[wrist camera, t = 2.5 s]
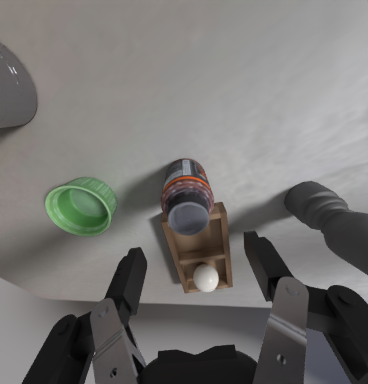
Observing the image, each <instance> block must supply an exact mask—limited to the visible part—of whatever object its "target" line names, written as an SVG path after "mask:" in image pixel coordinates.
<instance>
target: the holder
mask: <svg viewBox="0 0 368 384" xmlns="http://www.w3.org/2000/svg"><path fill="white" fill-rule="evenodd" d="M161 224H162V227H163V230H164V233H165V236H166V239H167V242H168V245H169V248H170V251H171V254H172V257H173V260H174V263H175V266H176V269H177V272H178V275H179V278H180V281H181V284H182V286H183V289H184V292H185V293H191V292H198V291H200V290H199V289H198V288H197V287H196V286H195V284H194V280H193V274H194V271H195V269H196V268H197V267H198V266H199V265H201V264H209V265H211V266H213V267H214V268H215V269H216V271H217V273H218V277H219V281H218V285H217V287H216V288H215V289H221V288H229V287H233V283H232V271H231V259H230V247H229V235H228V223H227V212H226V209H225V207H224V205H223V203H222V202H218V203H214V207H213V210H212V212H211V214H210V216H209V223H208V225H207V227H206V228H205V229H204V230H203V231H202V232H200V233H198V234H195V235H190V236H185V235H180V234H178V233H176V232H174V231H173V230H172V229H171V228H170V226H169V224H168V219H167V218H166V216H165V215H164V213H163V215H162V221H161Z"/></svg>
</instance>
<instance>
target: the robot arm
mask: <svg viewBox="0 0 368 384" xmlns="http://www.w3.org/2000/svg"><path fill="white" fill-rule="evenodd" d="M36 108H37V95H36V91H35V87H34V84H33V82H32V80H31V78H30V75H29V74H28V72H27V71H26V69H25V67H24V66H23V64H22V63H21V62H20V61H19V60H18V58H17V57H16V56H15V55H14V54H13V53H12V52H11V51H10V50H9V49H7V48H6V47H5V46H4V45H2V44H1V43H0V128H6V127H15V126H20V125H24V124H26V123H28V122H29V121H30V120H31V119H32V118H33V116H34V114H35V112H36ZM244 249H245V253H246V256H247V258H248V260H249V263H250V265H251V267H252V270H253V272H254V274H255V277H256V279H257V281H258V284H259V286H260V288H261V291H262V293H263V295H264V298H265V300H266V301H272V303H273V305H272V309H271V314H270V316H269V319H268V322H267V327H266V331H265V335H264V339H263V343H262V347H261V352H260V355H259V359H258V363H257V362H256V361H255V360H254V359H252V358H251V357H250V356H248V355H246V354H244V353H242V352H240V351H236V350H235V345H223V346H215V347H212V348H210V349H208V350H206V351H204V352H202V353H199V354H197V355H193V354H190V353H187V352H183V351H179V350H166V351H158V358H156V359H155V360H153V361H152V362H150V363H149V364H148V365H146V362H145V360H144V358H143V356H142V354H141V352H140V350H139V348H138V345H137V342H136V339H135V337H134V334H133V331H132V329H131V326H130V323H129V318H130V316H132V315H136V314H137V309H138V305H139V300H140V296H141V292H142V287H143V283H144V279H145V274H146V270H147V260H146V258H145V256H144V253H143V251H142V249H141V248H140V247H138V248H131V249H130V250H129V252H128V255H127V256H124V257H123V259H122V260H121V261H120V262H119V264H118V267H117V270H116V272H115V274H114V276H113V279H112V281H111V283H110V286H109V288H108V291H107V293H106V295H105V298H104V299H103V300H101V301H100V302H99V303H97V304H96V306H95V307H94V308H93V310H92V311H91V312H89V313H87V314H85V315H82V316H80V317H78V318H77V317H76V316H74V315H72V314H70V315H67V316H65V317H63V318H62V319H60V320H59V321H58V322H57V323H56V324H55V326H54V327H53V328H52V330H51V332H50V333H49V335H48V337H47V339H46V341H45V343H44V344H43V346H42V348H41V350H40V351H39V353H38V355H37V357H36V359H35V360H34V362H33V364H32V366H31V368H30V369H29V371H28V373H27V375H26V377H25V378H24V380H23V382H22V384H84V383H85V379H86V376H87V373H88V370H89V367H90V364H91V361H92V363H93V370H94V377H95V383H96V384H304V372H305V359H306V345H307V338H306V328H309V329H313V330H316V331H320V332H323V334H324V336H325V338H326V340H327V341H328V343H329V344H330V347H331V348H332V350H333V352H334V353H335V355H336V357H337V359H338V360H339V362H340V364H341V366H342V368H343V369H344V371H345V373H346V375H347V376H348V378H349V380H350V382H351V383H352V384H368V304H367V303H366V302H365V301H364V299H363V298H362V297H361V296H360V295H358V294H357V293H356V292H354V291H353V290H351V289H349V288H347V287H344V286H340V285H333V286H330V287H329V288H328V290H325V289H319V288H314V287H309V286H307V285H304V284H303V283H302V282H301V281H299V280H297V279H295V278H294V276H293V275H292V274H291V272H290V271H289V269H288V268H287V266H286V265H285V263H284V262H283V260H282V258H281V257H280V255H278V252H277V251H276V249H275V248H274V246H273V245H272V243H271V242H270V241H269V240H268V239H266V238H265V237H260V238H259V237H258V235H257V233H256V232H255V231H249V232H244ZM94 352H96V354H95V355H94ZM93 355H94V356H93ZM92 358H93V359H92Z"/></svg>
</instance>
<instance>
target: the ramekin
mask: <svg viewBox="0 0 368 384" xmlns="http://www.w3.org/2000/svg"><path fill="white" fill-rule="evenodd" d="M116 207H117V199H116V196H115V194H114V192H113V191H112V189H111V188H110V187H109V186H108V185H106V184H105V183H103V182H102V181H100V180H97V179H94V178H88V177H82V178H78V179H75V180H73V181H71V182H69V183H67V184H66V185H63V186H60V187H57V188H55V189H53V190H52V191H51V192H50V193H49V194H48V195H47V197H46V200H45V208H46V211H47V214H48V216H49V217H50V219H51V220H52V221H53V222H54V223H55V224H56V225H57V226H58V227H60V228H61V229H63V230H64V231H66V232H68V233H71V234H74V235H77V236H84V237H91V236H96V235H99V234H101V233H103V232H105V231H106V230H107V229H108V227H109V226H110V223H111V220H112V217H113V214H114V212H115V210H116Z"/></svg>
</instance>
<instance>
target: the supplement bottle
mask: <svg viewBox="0 0 368 384" xmlns="http://www.w3.org/2000/svg"><path fill="white" fill-rule="evenodd" d="M213 207H214V197H213V194H212V191H211V188H210V185H209V183H208V180H207V177H206V174H205V171H204V169H203V168H202V166H201V165H200V164H199V163H198V162H196V161H194V160H192V159H180V160H177V161H175V162H174V163H173V164H172V165H171V166H170V167H169V169H168V172H167V175H166V179H165V184H164V188H163V192H162V197H161V208H162V211H163V213H164V215H165V216H166V218H167V219H168V224H169V226H170V228H171V229H172V230H173V231H174V232H176V233H178V234H180V235H185V236H190V235H195V234H198V233H200V232H202V231H203V230H204V229H205V228H206V227H207V225H208V223H209V216H210V214H211V212H212V210H213Z"/></svg>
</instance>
